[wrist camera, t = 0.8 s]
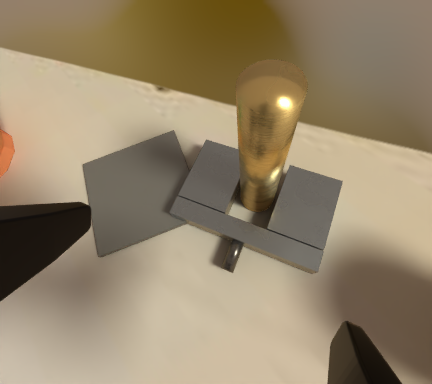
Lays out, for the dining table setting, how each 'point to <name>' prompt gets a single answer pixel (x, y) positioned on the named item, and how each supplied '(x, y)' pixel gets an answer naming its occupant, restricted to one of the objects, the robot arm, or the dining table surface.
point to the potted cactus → (5, 151)
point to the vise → (281, 217)
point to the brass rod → (266, 126)
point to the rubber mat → (135, 192)
